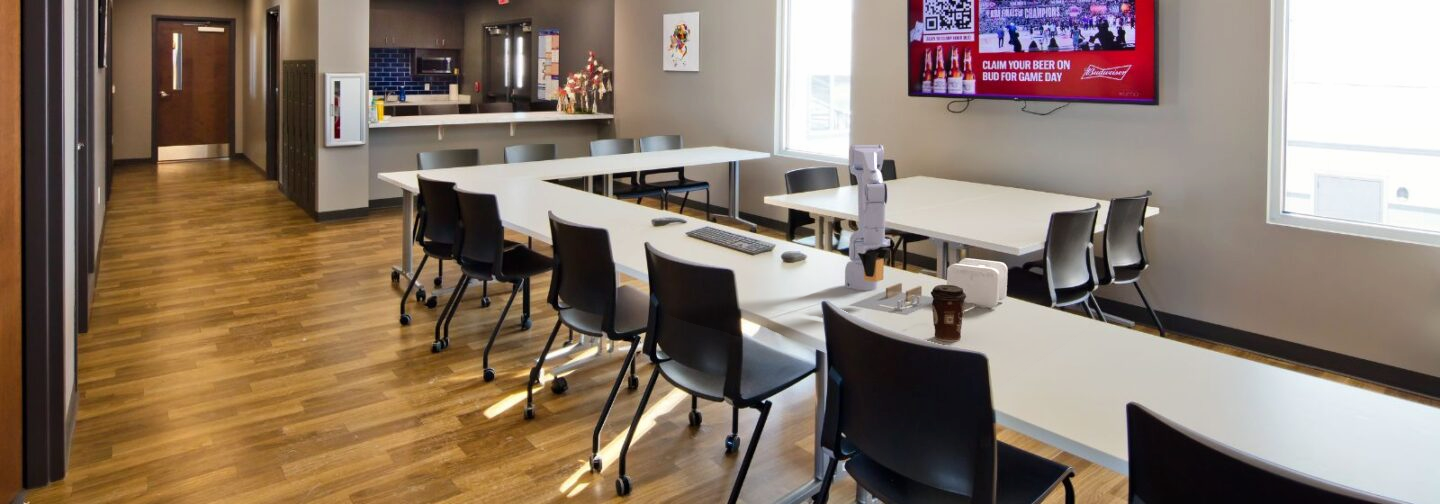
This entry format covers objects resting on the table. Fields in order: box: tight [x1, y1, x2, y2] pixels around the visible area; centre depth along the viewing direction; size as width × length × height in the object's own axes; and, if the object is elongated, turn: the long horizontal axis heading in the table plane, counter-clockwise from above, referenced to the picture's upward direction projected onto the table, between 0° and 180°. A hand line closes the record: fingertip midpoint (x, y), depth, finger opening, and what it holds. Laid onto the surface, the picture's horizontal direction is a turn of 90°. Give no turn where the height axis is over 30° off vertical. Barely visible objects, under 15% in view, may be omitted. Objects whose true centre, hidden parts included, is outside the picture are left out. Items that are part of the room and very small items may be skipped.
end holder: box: [885, 282, 923, 302], centre depth 268 cm, size 7×8×3 cm
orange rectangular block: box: [864, 258, 885, 283], centre depth 259 cm, size 4×4×6 cm
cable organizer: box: [946, 257, 1009, 309], centre depth 264 cm, size 15×11×12 cm
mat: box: [849, 290, 933, 316], centre depth 263 cm, size 18×22×4 cm
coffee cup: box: [930, 284, 966, 343], centre depth 229 cm, size 9×8×13 cm
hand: (873, 274), depth 260 cm, fingers closed on orange rectangular block, 4 cm apart
